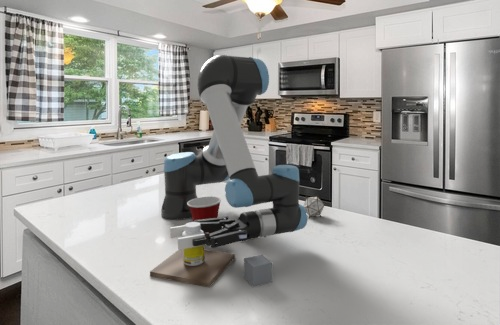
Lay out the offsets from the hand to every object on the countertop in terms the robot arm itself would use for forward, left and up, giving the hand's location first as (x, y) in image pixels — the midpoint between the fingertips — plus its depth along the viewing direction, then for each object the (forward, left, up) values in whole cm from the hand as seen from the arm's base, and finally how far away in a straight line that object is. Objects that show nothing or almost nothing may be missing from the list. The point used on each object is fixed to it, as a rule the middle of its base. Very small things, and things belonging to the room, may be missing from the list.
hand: (174, 238), depth 84 cm
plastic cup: (-3, +24, -9) cm, 25 cm away
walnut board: (+4, +4, -9) cm, 10 cm away
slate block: (+21, +3, -9) cm, 23 cm away
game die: (+27, +55, -9) cm, 61 cm away
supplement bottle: (+3, +4, -8) cm, 9 cm away
